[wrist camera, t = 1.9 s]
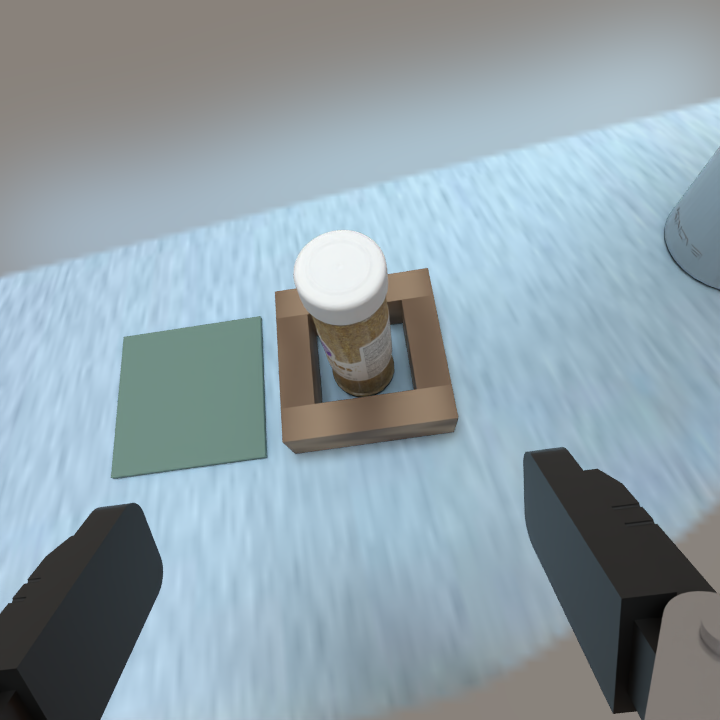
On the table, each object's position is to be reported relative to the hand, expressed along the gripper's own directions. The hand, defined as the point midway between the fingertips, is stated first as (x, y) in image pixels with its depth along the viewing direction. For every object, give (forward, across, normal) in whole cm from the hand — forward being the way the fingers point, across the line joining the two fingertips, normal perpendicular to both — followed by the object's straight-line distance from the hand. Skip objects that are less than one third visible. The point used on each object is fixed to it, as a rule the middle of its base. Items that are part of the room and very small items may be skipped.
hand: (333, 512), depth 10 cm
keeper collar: (+24, 0, +7) cm, 25 cm away
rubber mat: (+24, +13, +7) cm, 28 cm away
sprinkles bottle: (+24, 0, +7) cm, 25 cm away
